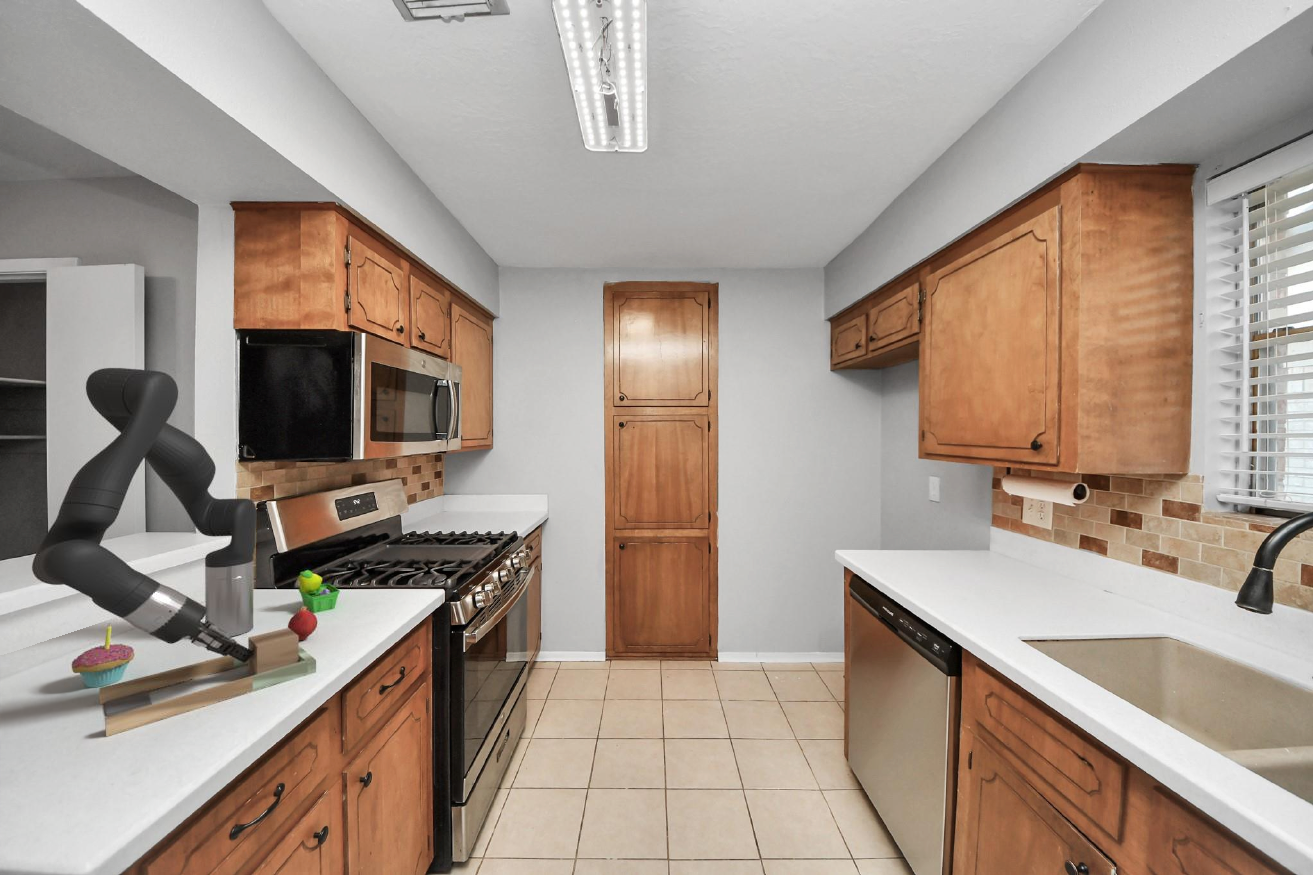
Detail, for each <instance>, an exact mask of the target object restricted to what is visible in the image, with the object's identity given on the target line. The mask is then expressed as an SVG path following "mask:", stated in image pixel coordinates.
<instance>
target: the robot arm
mask: <svg viewBox="0 0 1313 875" xmlns="http://www.w3.org/2000/svg"><path fill="white" fill-rule="evenodd" d="M86 379H87V380H86V384H85V392H86V396H87V398H88V400H89V402H90V404H91V406H92V407H93V408H94V409H95V411H96V412H98V414H99V415H100V416H101V417H103V418H104V419H105V420H106V421H107V422H108V423H109V424H110V425H111V426H113V427H114V429H115V430H117V431H118V432H119V433H120V434H119V435H118V436H117V437H115V439H114V440H113V441H112V442H110V443H109V444H108V445H107V446H106V447H105V448H103V449H102V450H101V451H99V452H98V453H97V454H96V455H95V456H93V457H91V459H90V460H88V461H87V462H86V463H85V464H84V465H83V466H81V468H80V469H79V470H78V471H76V472H77V473H76V474H75V475H74V477H73V478H72V480H71V482H70V484H69V486H68V489H67V490H66V493H65V496H64V498H63V500H62V503H61V505H60V507H59V510H58V514H57V517H56V518H55V521H54V522H53V524H52V526H51V527H50V528H49V529H48V532H47V533H46V535H45V537H44V538H43V540H42V542H41V544H40V545H39V547H38V549H37V551H36V553H35V554H34V558H33V561H32V566H31V570H32V573H33V575H34V576H35V578H36V579H37V580H38V581H40V582H42V583H44V584H47V585H51V586H52V585H53V586H59V585H60V586H62V585H65V586H68V587H69V588H72V589H74V590H75V591H77V592H79V593H82V594H83V595H85V596H86V597H89V598H91V601H92V602H93V603H94V605H97V607H99V608H100V609H103V610H105V611H107V612H109V613H111V614H112V615H115V616H117V617H119V618H121V619H122V620H124V621H126V622H127V623H129V624H130V625H131V626H133V627H135V628H137V629H138V630H141V631H143V632H145V633H146V634H148V635H150V636H153V637H155V638H157V639H159V640H161V641H163V642H164V643H166V644H171V645H172V644H175V643H176V644H177V642H180V641H181V640H183V638H185V637H189V638H188V640H189V641H190V643H191V644H193V645H195V646H197V647H198V648H199V647H203V648H205V649H206V650H207V651H210V652H213V653H215V654H218V655H220V656H222V657H223V656H227V655H230V656H232V657H234V658H236V659H237V660H239V661H241V662H246V661H248V659H249V658H250V657H251V656H252V655H253V652H252V651H251V650H249V649H248V648H247V647H246V646H244V645H243V644H240V643H238V641H237V640H236V639H235V638H232V637H234V636H239V635H242V634H244V633H248V632H249V631H251V630H253V629H254V553H255V548H256V533H257V531H256V530H257V517H258V515H257V514H258V513H257V507H256V504H255V502H254V501H253V500H252V499H250V498H242V497H241V498H215V497H213V496H212V495H211V493H210V492H209V491H208V490H209V488H210V486H211V484H212V483H213V481H214V478H215V475H216V469H217V468H216V464H215V462H214V460H213V459H212V457H211V456H210V453H208V452H207V450H206V448H205V446H203V444H202V443H200V441H198V440H197V439H196V438H194V437H192V436H191V435H190V434H188V433H186V432H184V431H183V430H180V429H179V428H177V427H175V426H173V425H171V424H170V423H168V422H167V421H168V420H169V419H170V417H171V415H172V414H173V411H174V409H175V408H176V405H177V401H178V399H179V389H178V384H177V383H176V381H175V379H174V378H173V376H171V375H170V374H168V373H166V372H162V371H159V370H158V371H157V370H151V369H149V370H148V369H137V368H126V367H106V368H105V367H104V368H100V369H97V370H95V371H93V372H91V373H90V374H89V376H88V377H87V378H86ZM144 459H145V461H147V463H148V465H149V466H150V468H152V470H153V471H154V473H156V475H158V477H159V478H160V479H161V481H163V483H164V484H165V485H166V486H167V487H168V489H170V491H171V492H172V493H173V494H174V495H175V497H176V498H177V500H178V501H179V502H180V504H181V505H182V506H183V508H184V509H185V512H186V514H187V515H188V516H189V518H190V520H191V522H192V523H193V525H194V526H195V528H196V529H197V530H198V531H199V533H201V534H202V535H204V536H207V537H214V538H215V537H231V539H230V543H229V544H228V545H226V546H224V547H223V548H219V549H216V550H213V551H210V552H209V553H207V554H206V555H205V558H204V559H205V560H204V567H205V568H204V569H205V571H204V572H205V573H204V576H205V577H204V582H205V583H204V585H205V586H204V588H205V590H204V591H205V592H204V593H205V594H204V599H205V601H204V602H205V603H204V604H205V605H203V604H202V603H200V602H197V601H196V600H194V599H192V598H190V596H189V597H188V596H187V595H185V594H183V593H181V592H180V591H179V590H176V589H174V588H172V587H170V586H167V585H164V584H163V583H161V582H158V581H157V580H155V579H154V578H151V577H150V576H148V575H145V574H144V573H142V572H140V571H138V570H135V569H134V568H132V567H131V566H130V565H129V564H128V563H127V562H125V561H124V560H123V559H121V558H120V557H119V556H117V555H116V554H115V553H113V552H112V551H111V550H109V549H108V548H106V547H104V546H102V545H101V542H102V540H103V539H104V538H103V537H104V536H105V533H106V531H107V530H108V529H109V528H110V527H111V526H113V524H114V523H115V521H116V520H117V518H118V516H119V513H120V511H121V508H122V505H123V503H124V501H125V499H126V495H127V492H128V490H129V488H130V485H131V482H132V480H133V478H134V476H135V474H136V472H137V470H138V469H139V467H140V465H141V464H142V462H143V460H144ZM203 619H205V620H204V622H203V621H202V620H203Z"/></svg>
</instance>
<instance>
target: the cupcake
mask: <svg viewBox="0 0 1313 875" xmlns="http://www.w3.org/2000/svg"><path fill="white" fill-rule="evenodd" d="M105 631H106V632H105V640H104V641H105V642H104V645H99V646H94V647H92V648H90V649H88V650H85V651H84V652H82V653H81V654H80V655H78V656H77V657H76V658H74V659H73V660H72V662H71V670H72V672H73V673H74V674H79V675H80V676H81V677H82V679H83V681H84V683H85V685H86V687H88V688H102V687H106V686H110V685H111V683H112V684H114V683H115V684H116V683H117V682H119V681H120V680H122V678H123V677H124V673H125V671H126V669H127V667H128V666H129V664H130V662H131V661H132V660H134V659H135V658H134V657H135V652H134V648H133V647H132V646H130V645H125V644H122V643H117V644H116V643H114V644H110V643H111V636H112V626H111V622H109V623H108V626H107V627H106V629H105Z"/></svg>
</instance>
